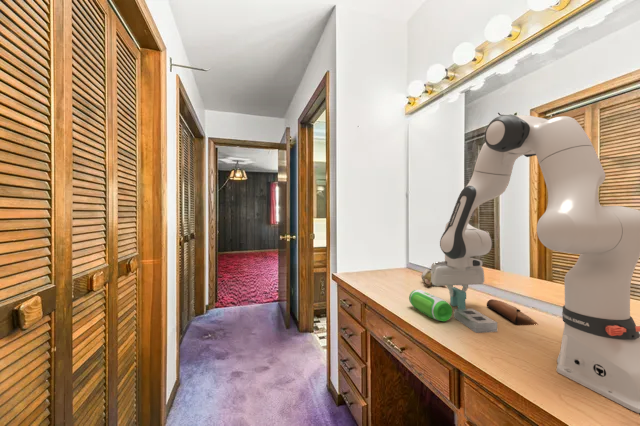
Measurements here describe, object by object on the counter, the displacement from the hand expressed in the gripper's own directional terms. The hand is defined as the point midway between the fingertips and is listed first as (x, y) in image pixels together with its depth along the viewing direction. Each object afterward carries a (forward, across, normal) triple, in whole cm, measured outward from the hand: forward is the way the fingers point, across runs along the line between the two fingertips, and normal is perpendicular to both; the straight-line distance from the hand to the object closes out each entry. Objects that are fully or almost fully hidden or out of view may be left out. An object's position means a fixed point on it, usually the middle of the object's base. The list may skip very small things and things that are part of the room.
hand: (457, 295), depth 112 cm
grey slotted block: (+5, -4, -16) cm, 17 cm away
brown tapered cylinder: (+5, +14, -10) cm, 18 cm away
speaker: (+5, -14, -6) cm, 16 cm away
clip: (+5, 0, 0) cm, 5 cm away
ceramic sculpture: (+5, +6, +35) cm, 35 cm away
